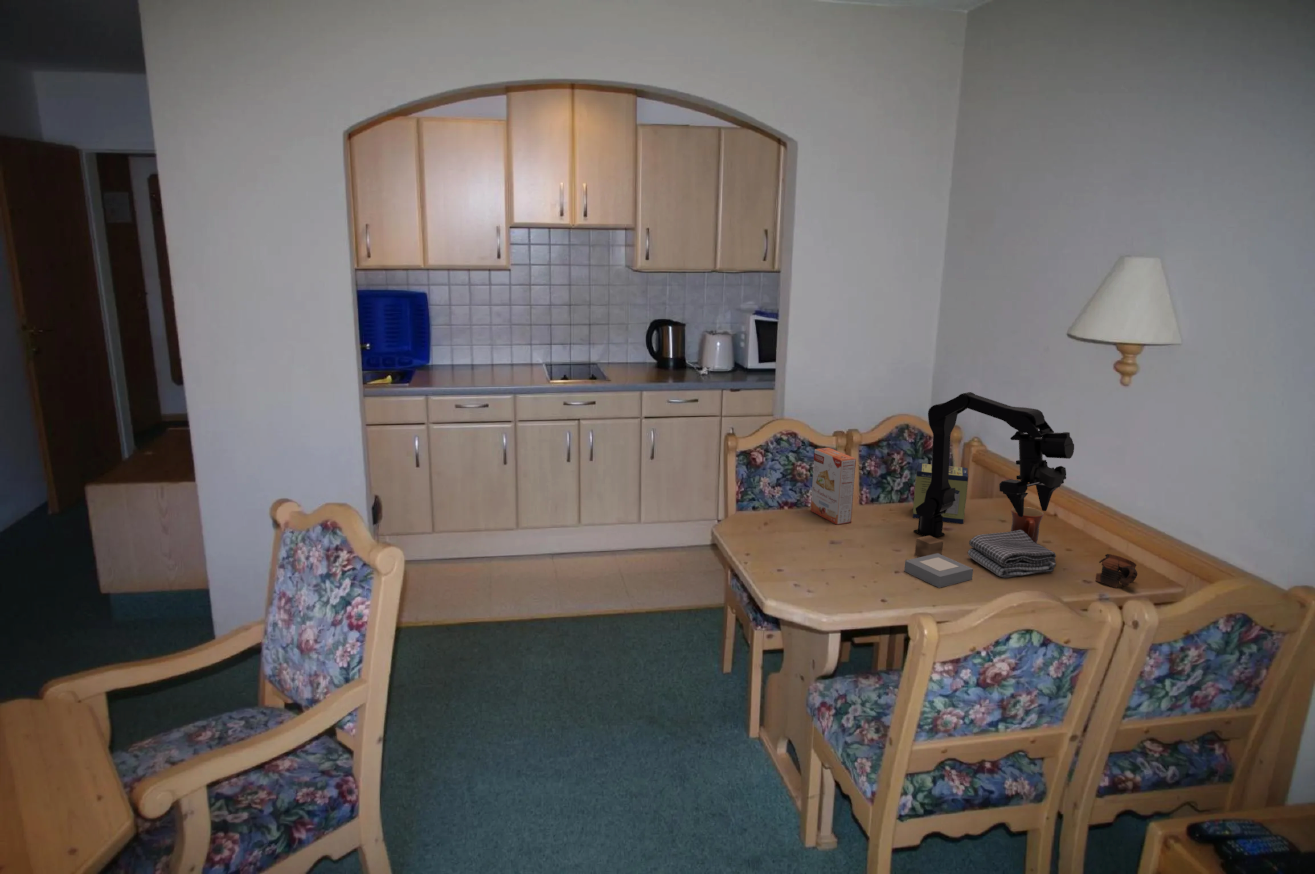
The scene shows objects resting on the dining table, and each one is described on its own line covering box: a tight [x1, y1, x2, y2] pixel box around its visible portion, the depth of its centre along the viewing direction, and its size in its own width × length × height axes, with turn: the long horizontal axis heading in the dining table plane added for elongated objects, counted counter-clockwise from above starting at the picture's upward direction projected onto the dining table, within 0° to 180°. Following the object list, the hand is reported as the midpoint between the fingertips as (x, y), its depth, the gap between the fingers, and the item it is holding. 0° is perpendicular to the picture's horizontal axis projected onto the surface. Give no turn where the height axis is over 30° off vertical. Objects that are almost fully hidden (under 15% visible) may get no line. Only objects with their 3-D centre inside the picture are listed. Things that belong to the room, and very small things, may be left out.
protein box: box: [912, 462, 969, 525], centre depth 268 cm, size 10×16×16 cm
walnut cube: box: [914, 535, 944, 558], centre depth 235 cm, size 5×5×5 cm
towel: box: [967, 530, 1057, 579], centre depth 230 cm, size 15×18×8 cm
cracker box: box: [810, 447, 857, 525], centre depth 264 cm, size 14×6×21 cm, turn 25°
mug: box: [1010, 506, 1045, 544], centre depth 243 cm, size 12×9×10 cm
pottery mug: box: [1095, 553, 1138, 589], centre depth 220 cm, size 12×10×8 cm
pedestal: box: [903, 553, 974, 589], centre depth 222 cm, size 12×12×3 cm
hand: (1032, 513), depth 229 cm, fingers open, 9 cm apart
